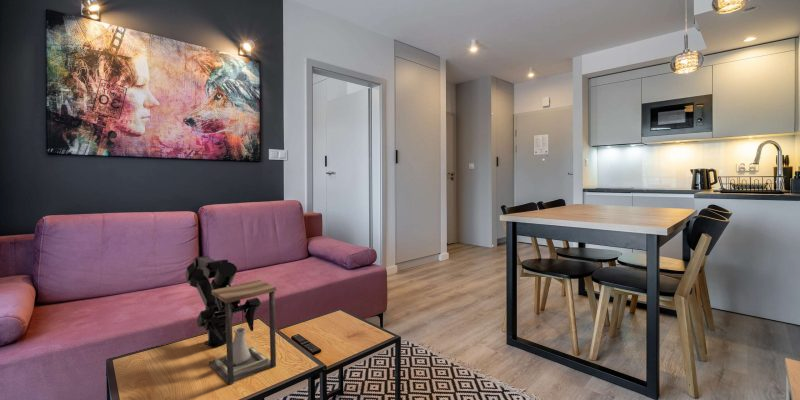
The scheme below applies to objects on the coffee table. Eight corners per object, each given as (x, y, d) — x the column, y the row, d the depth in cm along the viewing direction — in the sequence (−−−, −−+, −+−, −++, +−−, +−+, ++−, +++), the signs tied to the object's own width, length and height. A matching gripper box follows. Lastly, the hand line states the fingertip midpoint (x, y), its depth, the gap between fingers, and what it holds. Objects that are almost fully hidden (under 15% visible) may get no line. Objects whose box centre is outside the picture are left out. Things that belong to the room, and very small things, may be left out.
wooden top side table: (206, 364, 115) (204, 286, 113) (253, 348, 126) (251, 276, 124) (228, 386, 103) (225, 299, 102) (277, 366, 114) (276, 287, 112)
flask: (236, 368, 112) (237, 339, 110) (220, 358, 115) (222, 330, 113) (255, 357, 118) (257, 329, 116) (240, 348, 121) (242, 321, 119)
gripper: (198, 286, 111) (213, 332, 105) (258, 274, 125) (274, 314, 118) (191, 304, 117) (204, 349, 111) (248, 291, 131) (263, 330, 124)
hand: (238, 335), depth 116 cm, fingers open, 9 cm apart
